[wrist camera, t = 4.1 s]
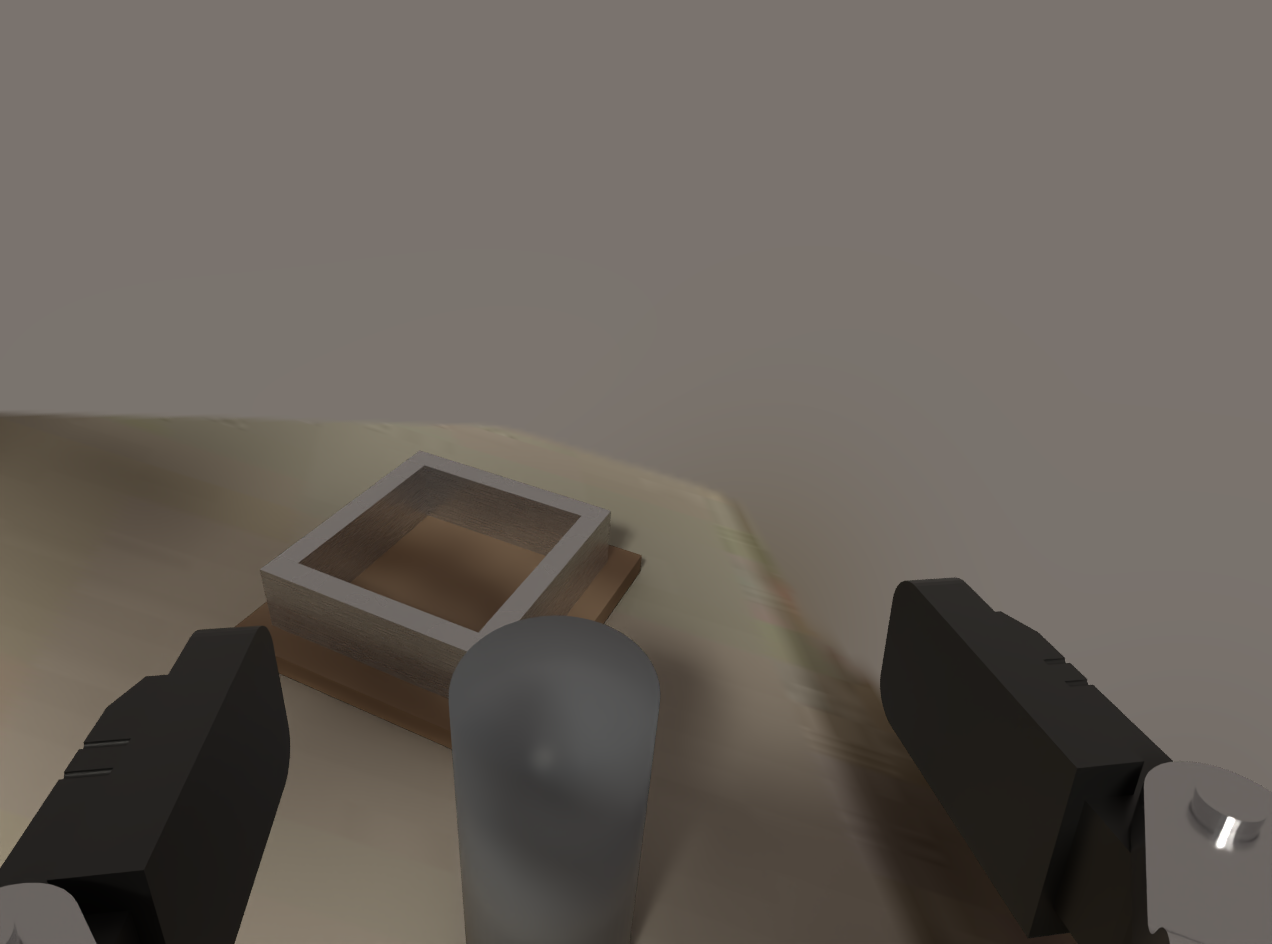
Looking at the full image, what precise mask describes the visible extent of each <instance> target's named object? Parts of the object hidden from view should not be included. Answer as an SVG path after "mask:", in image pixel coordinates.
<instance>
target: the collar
mask: <svg viewBox="0 0 1272 944" xmlns="http://www.w3.org/2000/svg"><path fill="white" fill-rule="evenodd" d="M427 516H431V517H434V518H437V519H440V520H443V521H446V522H449V523H452V524H455V525H457V526H460V527H463V528H466V529H469V530H472V531H475V532H478V533H481V534H484V535H487V536H489V537H492V538H495V539H498V540H501V541H504V542H507V543H510V544H513V545H516V546H519V547H521V548H524V549H527V550H530V551H533V552H536V553H539V554H542V555H545V556H546V557H545V558H544V559H543V560H542V561H541V562H540V563H539V565H538V566H537V567H536V568H535V569H534V570H533V571H532V572H531V574H530V575H529V576H528V577H527V578H526V579H525V580H524V582H523V583H522V584H521V585H520V586H519V587H518V588H517V589H516V591H515V592H514V593H513V594H512V595H511V596H510V597H509V599H508V600H507V601H506V602H505V603H504V604H503V605H502V606H501V608H500V609H499V610H498V611H497V612H496V613H495V614H494V615H493V617H492V618H491V619H490V620H489V621H488V622H487V623H486V625H485V626H484V627H483V628H482V629H481V630H480V631H479V632H475V631H473V630H470V629H467V628H465V627H462V626H460V625H457V624H454V623H452V622H449V621H447V620H444V619H442V618H439V617H436V616H434V615H431V614H429V613H426V612H423V611H421V610H418V609H416V608H413V607H410V606H408V605H405V604H403V603H400V602H397V601H395V600H392V599H390V598H387V597H385V596H382V595H379V594H377V593H374V592H372V591H369V590H366V589H364V588H361V587H359V586H356V585H353V584H351V583H350V582H351V581H353V580H354V579H355V578H356V577H357V576H358V575H360V574H361V573H362V572H363V571H364V570H365V569H367V568H368V567H369V566H370V565H371V564H372V563H374V562H375V561H376V560H377V559H378V558H379V557H381V556H382V555H383V554H384V553H385V552H386V551H388V550H389V549H390V548H391V547H392V546H393V545H395V544H396V543H397V542H398V541H399V540H400V539H402V538H403V537H404V536H405V535H406V534H407V533H409V532H410V531H411V530H412V529H413V528H415V527H416V526H417V525H418V524H419V523H420V522H422V521H423V520H424V519H425V518H426V517H427ZM610 516H611V511H609V510H606V509H603V508H600V507H597V506H594V505H590V504H587V503H584V502H581V501H578V500H575V499H572V498H568V497H565V496H562V495H559V494H556V493H553V492H549V491H546V490H543V489H540V488H537V487H534V486H530V485H527V484H524V483H521V482H518V481H515V480H511V479H508V478H505V477H502V476H499V475H496V474H492V473H489V472H486V471H483V470H480V469H477V468H474V467H470V466H467V465H464V464H461V463H458V462H455V461H451V460H448V459H445V458H442V457H439V456H436V455H432V454H429V453H426V452H423V451H418V452H417V453H416V454H414V455H413V456H412V457H410V458H409V459H408V460H406V461H405V462H404V463H402V464H401V465H400V466H398V467H397V468H396V469H394V470H393V471H392V472H390V473H389V474H388V475H386V476H385V477H383V478H382V479H381V480H379V481H378V482H377V483H375V484H374V485H373V486H371V487H370V488H369V489H367V490H366V491H365V492H363V493H362V494H361V495H359V496H358V497H357V498H355V499H354V500H353V501H351V502H350V503H348V504H347V505H346V506H344V507H343V508H342V509H340V510H339V511H338V512H336V513H335V514H334V515H332V516H331V517H330V518H328V519H327V520H326V521H324V522H323V523H322V524H320V525H319V526H318V527H316V528H315V529H314V530H312V531H311V532H309V533H308V534H307V535H305V536H304V537H303V538H301V539H300V540H299V541H297V542H296V543H295V544H293V545H292V546H291V547H289V548H288V549H287V550H285V551H284V552H283V553H281V554H280V555H279V556H277V557H276V558H275V559H273V560H272V561H270V562H269V563H268V564H266V565H265V566H264V567H262V568H261V569H260V572H261V577H262V581H263V586H264V590H265V595H266V599H267V604H268V608H269V613H270V617H271V622H272V625H273V626H275V627H278V628H280V629H282V630H285V631H287V632H290V633H292V634H294V635H297V636H299V637H302V638H304V639H306V640H309V641H311V642H313V643H316V644H318V645H321V646H323V647H325V648H328V649H330V650H332V651H335V652H337V653H340V654H342V655H344V656H347V657H349V658H352V659H354V660H356V661H359V662H361V663H363V664H366V665H368V666H371V667H373V668H375V669H378V670H380V671H383V672H385V673H387V674H390V675H392V676H394V677H397V678H399V679H402V680H404V681H406V682H409V683H411V684H413V685H416V686H418V687H421V688H423V689H425V690H428V691H430V692H433V693H435V694H437V695H440V696H442V697H444V698H447V699H449V687H450V682H451V679H452V676H453V673H454V671H455V669H456V667H457V665H458V663H459V662H460V660H461V659H462V657H463V656H464V655H465V654H466V652H467V651H468V650H469V649H470V648H471V647H472V646H473V645H474V644H475V643H477V642H478V641H479V640H480V639H482V638H483V637H484V636H486V635H488V634H489V633H491V632H493V631H494V630H496V629H499V628H501V627H503V626H505V625H508V624H510V623H513V622H516V621H520V620H524V619H528V618H533V617H540V616H566V615H567V614H568V613H569V611H570V610H571V609H572V607H573V606H574V605H575V603H576V602H577V601H578V600H579V598H580V597H581V596H582V594H583V593H584V592H585V590H586V589H587V588H588V587H589V585H590V584H591V583H592V581H593V580H594V579H595V577H596V576H597V575H598V574H599V572H600V571H601V570H602V568H603V567H604V566H605V564H606V563H607V560H608V545H609V531H610Z"/></svg>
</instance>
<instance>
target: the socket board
mask: <svg viewBox="0 0 1272 944" xmlns="http://www.w3.org/2000/svg"><path fill="white" fill-rule="evenodd" d="M545 557H546V556H545V555H542V554H539V553H536V552H533V551H530V550H527V549H524V548H521V547H519V546H516V545H513V544H510V543H507V542H504V541H501V540H498V539H495V538H492V537H489V536H487V535H484V534H481V533H478V532H475V531H472V530H469V529H466V528H463V527H460V526H457V525H455V524H452V523H449V522H446V521H443V520H440V519H437V518H434V517H431V516H427V517H426V518H425V519H424V520H423V521H422V522H420V523H419V524H418V525H417V526H416V527H415V528H413V529H412V530H411V531H410V532H409V533H407V534H406V535H405V536H404V537H403V538H402V539H400V540H399V541H398V542H397V543H396V544H395V545H393V546H392V547H391V548H390V549H389V550H388V551H386V552H385V553H384V554H383V555H382V556H381V557H379V558H378V559H377V560H376V561H375V562H374V563H372V564H371V565H370V566H369V567H368V568H367V569H365V570H364V571H363V572H362V573H361V574H360V575H358V576H357V577H356V578H355V579H354V580H353V581H351V582H350V583H351V584H353V585H356V586H359V587H361V588H364V589H366V590H369V591H372V592H374V593H377V594H379V595H382V596H385V597H387V598H390V599H392V600H395V601H397V602H400V603H403V604H405V605H408V606H410V607H413V608H416V609H418V610H421V611H423V612H426V613H429V614H431V615H434V616H436V617H439V618H442V619H444V620H447V621H449V622H452V623H454V624H457V625H460V626H462V627H465V628H467V629H470V630H473V631H475V632H479V631H480V630H481V629H482V628H483V627H484V626H485V625H486V623H487V622H488V621H489V620H490V619H491V618H492V617H493V615H494V614H495V613H496V612H497V611H498V610H499V609H500V608H501V606H502V605H503V604H504V603H505V602H506V601H507V600H508V599H509V597H510V596H511V595H512V594H513V593H514V592H515V591H516V589H517V588H518V587H519V586H520V585H521V584H522V583H523V582H524V580H525V579H526V578H527V577H528V576H529V575H530V574H531V572H532V571H533V570H534V569H535V568H536V567H537V566H538V565H539V563H540V562H541V561H542V560H543V559H544V558H545ZM641 557H642V556H641V555H638V554H635V553H632V552H629V551H626V550H623V549H620V548H617V547H614V546H611V545H608V560H607V563H606V564H605V566H604V567H603V568H602V570H601V571H600V572H599V574H598V575H597V576H596V577H595V579H594V580H593V581H592V583H591V584H590V585H589V587H588V588H587V589H586V590H585V592H584V593H583V594H582V596H581V597H580V598H579V600H578V601H577V602H576V603H575V605H574V606H573V607H572V609H571V610H570V611H569V613H568V614H567V615H566V616H572V617H579V618H584V619H589V620H592V621H596V622H599V623H602V624H604V622H605V621H606V619H607V618H608V617H609V615H610V614H611V612H612V611H613V609H614V608H615V607H616V605H617V604H618V602H619V601H620V599H621V598H622V597H623V595H624V594H625V592H626V591H627V589H628V588H629V587H630V585H631V584H632V582H633V581H634V579H635V578H636V577H637V575H638V574H639V572H640V567H641ZM249 626H266V627H267V628H268V630H269V632H270V634H271V637H272V640H273V645H274V650H275V656H276V661H277V667H278V672H279V673H280V674H282V675H284V676H287V677H289V678H291V679H294V680H296V681H298V682H300V683H303V684H305V685H307V686H309V687H312V688H314V689H316V690H319V691H321V692H323V693H325V694H328V695H330V696H332V697H334V698H337V699H339V700H341V701H343V702H346V703H348V704H350V705H353V706H355V707H357V708H359V709H362V710H364V711H366V712H368V713H371V714H373V715H375V716H378V717H380V718H382V719H384V720H387V721H389V722H391V723H393V724H396V725H398V726H400V727H402V728H405V729H407V730H409V731H412V732H414V733H416V734H418V735H421V736H423V737H425V738H427V739H430V740H432V741H434V742H437V743H439V744H441V745H443V746H446V747H448V748H450V749H452V742H451V728H450V715H449V699H447V698H444V697H442V696H440V695H437V694H435V693H433V692H430V691H428V690H425V689H423V688H421V687H418V686H416V685H413V684H411V683H409V682H406V681H404V680H402V679H399V678H397V677H394V676H392V675H390V674H387V673H385V672H383V671H380V670H378V669H375V668H373V667H371V666H368V665H366V664H363V663H361V662H359V661H356V660H354V659H352V658H349V657H347V656H344V655H342V654H340V653H337V652H335V651H332V650H330V649H328V648H325V647H323V646H321V645H318V644H316V643H313V642H311V641H309V640H306V639H304V638H302V637H299V636H297V635H294V634H292V633H290V632H287V631H285V630H282V629H280V628H278V627H275V626H273V625H272V622H271V617H270V613H269V608H268V604H267V602H266V603H264V604H263V605H262V606H261V607H259V608H258V609H257V610H255V611H254V612H253V613H252V614H250V615H249V616H248V617H247V618H245V619H244V620H243V621H242V622H240V623H239V624H238V625H237V626H235V627H249Z"/></svg>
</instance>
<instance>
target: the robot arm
mask: <svg viewBox="0 0 1272 944" xmlns="http://www.w3.org/2000/svg"><path fill="white" fill-rule="evenodd" d="M880 690H881V698H882V703H883V707H884V711H885V714H886V717H887V719H888V721H889V723H890V725H891V726H892V728H893V730H894V731H895V733H896V734H897V736H898V737H899V739H900V740H901V742H902V744H903V745H904V747H905V748H906V750H907V751H908V753H909V754H910V756H911V758H912V759H913V761H914V762H915V764H916V765H917V767H918V768H919V770H920V771H921V773H922V775H923V776H924V778H925V779H926V781H927V782H928V784H929V785H930V787H931V789H932V790H933V792H934V793H935V795H936V796H937V798H938V799H939V801H940V802H941V804H942V806H943V807H944V809H945V810H946V812H947V813H948V815H949V816H950V818H951V820H952V821H953V823H954V824H955V826H956V827H957V829H958V830H959V832H960V834H961V835H962V837H963V838H964V840H965V841H966V843H967V844H968V846H969V847H970V849H971V851H972V852H973V854H974V855H975V857H976V858H977V860H978V861H979V863H980V865H981V866H982V868H983V869H984V871H985V872H986V874H987V875H988V877H989V878H990V880H991V882H992V883H993V885H994V886H995V888H996V889H997V891H998V892H999V894H1000V896H1001V897H1002V899H1003V900H1004V902H1005V903H1006V905H1007V906H1008V908H1009V910H1010V911H1011V913H1012V914H1013V916H1014V917H1015V919H1016V920H1017V922H1018V923H1019V925H1020V927H1021V928H1022V930H1023V931H1024V933H1025V934H1026V936H1027V937H1028V938H1034V937H1041V936H1049V935H1056V934H1063V933H1071V934H1072V936H1073V937H1074V939H1075V940H1076V942H1077V943H1078V944H1272V792H1271V791H1269V790H1268V789H1266V788H1264V787H1263V786H1261V785H1259V784H1257V783H1255V782H1253V781H1252V780H1250V779H1248V778H1246V777H1243V776H1241V775H1239V774H1236V773H1234V772H1231V771H1229V770H1225V769H1223V768H1220V767H1216V766H1212V765H1208V764H1203V763H1197V762H1188V761H1176V762H1173V761H1172V760H1171V759H1170V758H1169V757H1168V756H1167V755H1166V754H1165V753H1164V752H1163V751H1162V750H1161V749H1160V748H1159V747H1158V746H1157V745H1155V744H1154V743H1153V742H1152V741H1151V740H1150V739H1149V738H1148V737H1147V736H1146V735H1145V734H1144V733H1143V732H1142V731H1141V730H1140V729H1139V728H1138V727H1137V726H1136V725H1134V724H1133V723H1132V722H1131V721H1130V720H1129V719H1128V718H1127V717H1126V716H1125V715H1124V714H1123V713H1122V712H1121V711H1120V710H1119V709H1118V708H1117V707H1116V706H1115V705H1114V704H1112V702H1110V701H1109V700H1108V699H1107V698H1106V697H1105V696H1104V695H1103V694H1102V693H1101V692H1100V691H1099V690H1098V689H1097V688H1096V687H1095V686H1094V685H1088V683H1087V679H1086V678H1085V677H1084V676H1083V675H1082V674H1081V673H1080V672H1079V671H1078V670H1077V669H1076V668H1075V667H1074V666H1073V665H1072V664H1070V663H1065V658H1064V657H1063V656H1062V655H1061V654H1060V653H1059V652H1058V651H1057V650H1056V649H1055V648H1054V647H1053V646H1052V645H1051V644H1050V643H1049V642H1048V641H1046V639H1044V638H1043V637H1042V636H1041V635H1040V634H1039V633H1038V632H1037V631H1035V630H1033V629H1031V628H1029V627H1028V626H1026V625H1024V624H1022V623H1020V622H1019V621H1017V620H1015V619H1013V618H1012V617H1010V616H1008V615H1006V614H1004V613H1003V612H995V611H993V609H991V608H990V607H989V605H988V604H986V603H985V601H983V600H982V599H981V598H980V596H978V594H976V593H975V592H974V590H972V589H971V587H969V586H968V585H967V584H966V583H965V582H964V581H963V580H961V579H959V578H942V579H926V580H912V581H903V582H901V583H900V584H899V585H898V586H897V588H896V590H895V593H894V597H893V602H892V608H891V615H890V620H889V626H888V633H887V639H886V645H885V652H884V658H883V664H882V670H881V678H880ZM289 759H290V735H289V727H288V721H287V716H286V710H285V705H284V699H283V694H282V688H281V683H280V678H279V672H278V667H277V661H276V656H275V650H274V645H273V640H272V637H271V634H270V632H269V630H268V628H267V627H266V626H249V627H234V628H219V629H204V630H197V631H195V632H194V633H193V634H192V636H191V637H190V639H189V641H188V642H187V644H186V646H185V647H184V649H183V651H182V652H181V654H180V656H179V658H178V659H177V661H176V663H175V664H174V666H173V668H172V669H171V671H170V673H169V674H168V675H159V676H146V677H145V678H143V679H142V680H141V681H140V682H138V683H137V684H136V685H135V686H133V687H132V688H131V689H130V690H128V691H127V692H126V693H124V694H123V695H122V696H121V697H119V698H118V699H117V700H116V701H114V702H113V703H112V704H111V705H109V706H108V707H107V708H106V709H105V711H104V713H103V714H102V716H101V717H100V719H99V720H98V722H97V723H96V725H95V726H94V728H93V729H92V731H91V732H90V734H89V735H88V737H87V738H86V740H85V741H84V748H83V749H79V750H78V752H77V753H76V755H75V756H74V758H73V759H72V761H71V762H70V764H69V765H68V767H67V768H66V770H65V771H64V779H61V780H58V782H57V783H56V785H55V786H54V788H53V789H52V791H51V792H50V794H49V795H48V797H47V799H46V800H45V802H44V803H43V805H42V806H41V808H40V809H39V811H38V812H37V814H36V815H35V817H34V818H33V820H32V821H31V823H30V824H29V826H28V827H27V829H26V830H25V832H24V833H23V835H22V836H21V838H20V839H19V841H18V842H17V844H16V845H15V847H14V848H13V850H12V851H11V853H10V854H9V856H8V857H7V859H6V860H5V862H4V863H3V865H2V866H1V868H0V944H234V943H235V940H236V937H237V934H238V931H239V928H240V924H241V921H242V918H243V915H244V912H245V909H246V906H247V902H248V899H249V896H250V893H251V890H252V887H253V884H254V881H255V877H256V874H257V871H258V868H259V865H260V862H261V859H262V855H263V852H264V849H265V846H266V843H267V840H268V837H269V834H270V830H271V827H272V824H273V821H274V818H275V815H276V812H277V808H278V805H279V802H280V799H281V796H282V793H283V790H284V787H285V783H286V779H287V775H288V768H289Z"/></svg>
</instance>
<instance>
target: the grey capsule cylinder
mask: <svg viewBox="0 0 1272 944" xmlns="http://www.w3.org/2000/svg"><path fill="white" fill-rule="evenodd" d="M659 705H660V685H659V681H658V677H657V673H656V671H655V669H654V667H653V664H652V663H651V661H650V660H649V658H648V657H647V655H646V654H645V653H644V652H643V651H642V649H641V648H640V647H639V646H638V645H637V644H636V643H634V642H633V641H632V640H631V639H630V638H628V637H627V636H625V635H624V634H622V633H621V632H619V631H617V630H615V629H613V628H611V627H609V626H607V625H604V624H602V623H599V622H596V621H592V620H589V619H584V618H579V617H572V616H540V617H533V618H528V619H524V620H520V621H516V622H513V623H510V624H508V625H505V626H503V627H501V628H499V629H496V630H494V631H493V632H491V633H489V634H488V635H486V636H484V637H483V638H482V639H480V640H479V641H478V642H477V643H475V644H474V645H473V646H472V647H471V648H470V649H469V650H468V651H467V652H466V654H465V655H464V656H463V657H462V659H461V660H460V662H459V663H458V665H457V667H456V669H455V671H454V673H453V676H452V679H451V682H450V687H449V715H450V728H451V742H452V755H453V769H454V783H455V796H456V810H457V824H458V837H459V851H460V865H461V878H462V892H463V906H464V919H465V933H466V944H630V936H631V928H632V920H633V912H634V904H635V896H636V888H637V880H638V872H639V864H640V856H641V848H642V840H643V832H644V824H645V816H646V808H647V801H648V793H649V785H650V777H651V769H652V761H653V753H654V745H655V737H656V729H657V721H658V713H659Z"/></svg>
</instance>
